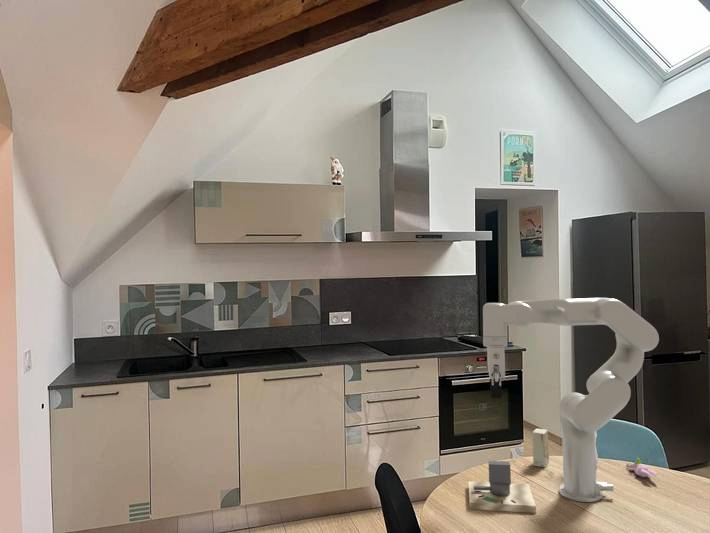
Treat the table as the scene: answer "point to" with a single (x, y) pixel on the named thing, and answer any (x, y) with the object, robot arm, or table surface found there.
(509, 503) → the dial board
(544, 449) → the skincare box
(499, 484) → the knob
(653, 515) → the table surface
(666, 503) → the table surface
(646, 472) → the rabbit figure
